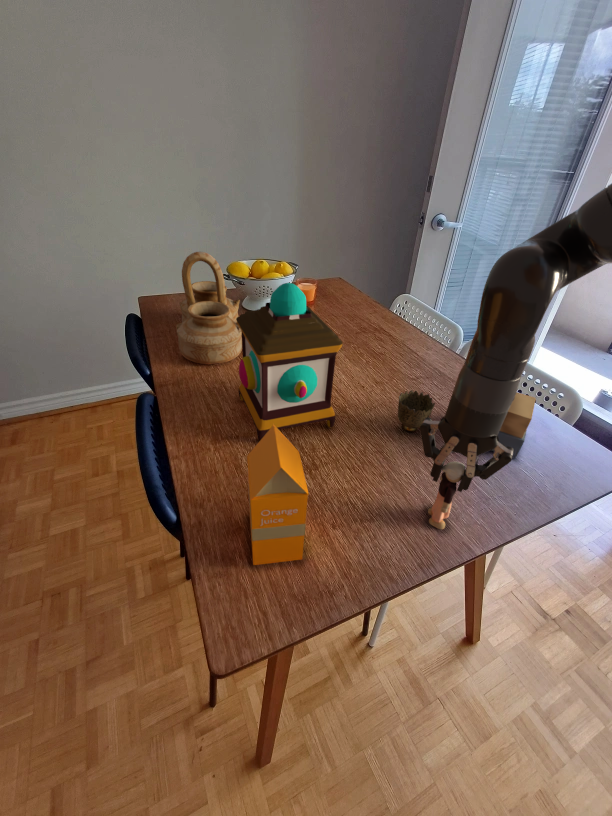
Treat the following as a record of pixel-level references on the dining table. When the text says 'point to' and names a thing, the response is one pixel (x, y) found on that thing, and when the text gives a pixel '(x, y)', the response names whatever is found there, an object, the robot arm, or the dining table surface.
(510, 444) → the base block
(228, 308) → the ceramic vessel
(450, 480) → the grandmother figurine
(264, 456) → the orange juice
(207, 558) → the dining table surface
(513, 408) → the top block
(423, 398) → the cup
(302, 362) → the decorative lantern
